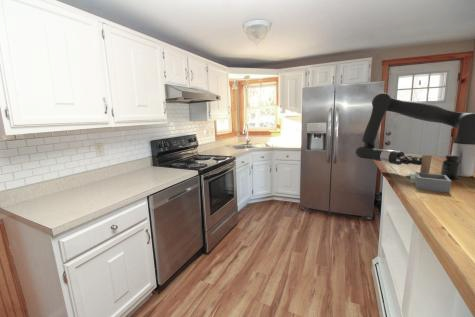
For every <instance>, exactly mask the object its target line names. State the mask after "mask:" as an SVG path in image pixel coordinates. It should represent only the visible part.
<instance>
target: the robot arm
mask: <svg viewBox="0 0 475 317" xmlns="http://www.w3.org/2000/svg"><path fill="white" fill-rule="evenodd" d="M371 106H372V109H371V110H372V111H371V114H370V117H369V121H368V123H367V125H366V128H365V129H364V133H363V136H362V138H361V139H362V140H361V141H362V142H363V143H364V144H363V145H364V146H359V147H357V148H356V149H355V156H356V157H357V158H359V159H367V160H373V161H377V162H382V163H386V164H393V165H396V166H400V165H402V164H404V165H417V166H421V164H422V156H417V155H411V154H409V155H408V154H407V155H405V153H404V152H403V151H402V150H401V151H400V150H395V149H394V150H392V149H382V148H375V146H376V145H375V144H376V139H377V137H378V133H379V130H380V127H381V124H382V122H383V118H384V116H385V113H386V112H392V113H396V114H399V115H402V116H405V117H409V118H410V119H411V118H412V119H415V120H419V121H420V120H421V121H424V122H429V123H430V122H431V123H439V124H443V125H446V126H451V127H453V128H456V129H458V130H457V134H456V136H455V137H454V139H453V144H452V148H451V150H452V151H451V154H450V155H455V156H459V158H458V161H459V162H460V168H459V174H458V177H464V178H465V177H466V178H468V177H472V176H474V175H475V174H474V173H475V112H460V111H455V110H454V111H453V110H448V109H446V108H443V107H440V106H438V105H435V104H433V103H432V104H431V103H427V102H423V101H422V102H421V101H417V100H416V101H415V100H403V99H402V100H401V99H398V98H393V97H391V96H390V95H389V94H388V93H387V92H382V93H378V94H376V95H375V96H374V97H373V98H372V100H371Z"/></svg>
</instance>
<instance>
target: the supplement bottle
mask: <svg viewBox="0 0 475 317" xmlns="http://www.w3.org/2000/svg"><path fill="white" fill-rule="evenodd" d="M458 158H459V156H455V155H451V154H446V155H445V158H444V160H442V162H441V167H440V174H439V175H446V176H447V177H448V178H449V179H450V180H451V181H452V180H453V181H454V180H455V181H456V180H457V179H458V177H459V176H458V174H459V168H460V162H459V161H458Z"/></svg>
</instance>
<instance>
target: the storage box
mask: <svg viewBox="0 0 475 317" xmlns="http://www.w3.org/2000/svg"><path fill="white" fill-rule="evenodd" d="M414 174H415V180H413V182H414V186H415V188H416V189H418V190H424V191H425V190H426V191H432V192H438V193H440V192H441V193H448V194H449V193H450V192H451V185H452V180H450V179H449V178H448V177H447V176H446V175H440V174H439V173H430V172H429V173H420V171H419V172H418V171H416V172H415V173H414Z"/></svg>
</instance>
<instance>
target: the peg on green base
mask: <svg viewBox="0 0 475 317" xmlns="http://www.w3.org/2000/svg"><path fill="white" fill-rule="evenodd" d="M421 157H422V164H421V165H420V168H419V173H429V174H430V171H431V163H432V157H433V156H432V155H430V154H429V155H428V154H423V155H422V156H421ZM408 176H409V178H410V181H414V180H415V173H412V172H409V174H408Z"/></svg>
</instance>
